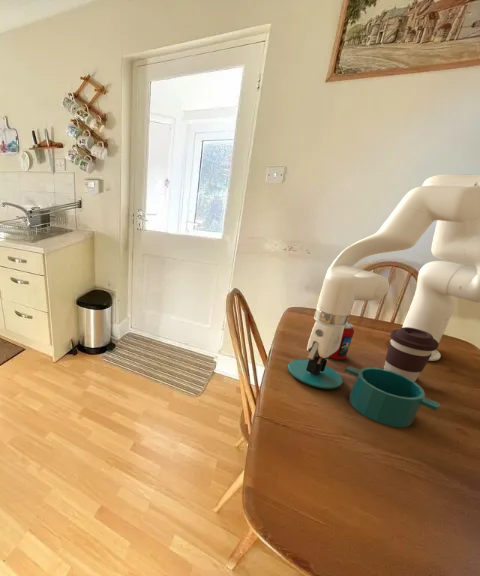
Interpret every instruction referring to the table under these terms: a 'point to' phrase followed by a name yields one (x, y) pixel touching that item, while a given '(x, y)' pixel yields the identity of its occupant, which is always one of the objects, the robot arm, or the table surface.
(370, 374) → the pot
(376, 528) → the table surface
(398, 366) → the coffee cup
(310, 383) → the lid
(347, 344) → the beverage can
